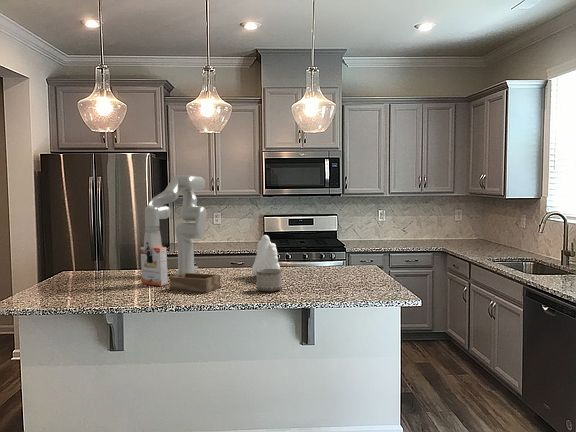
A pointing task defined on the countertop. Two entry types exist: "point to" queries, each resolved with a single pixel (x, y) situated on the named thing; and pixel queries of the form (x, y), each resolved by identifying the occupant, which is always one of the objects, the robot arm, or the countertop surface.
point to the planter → (268, 279)
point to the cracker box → (155, 267)
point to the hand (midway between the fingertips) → (153, 261)
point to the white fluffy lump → (265, 255)
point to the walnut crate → (195, 282)
